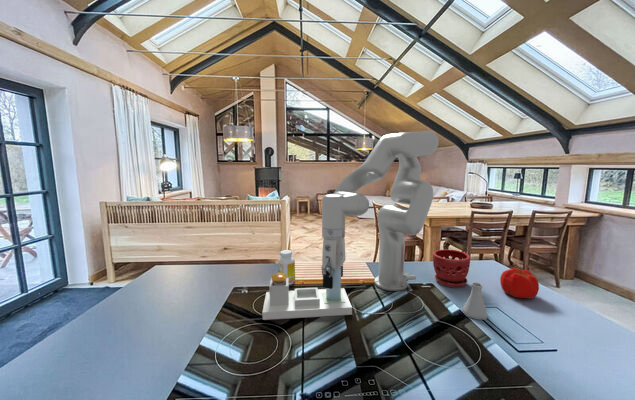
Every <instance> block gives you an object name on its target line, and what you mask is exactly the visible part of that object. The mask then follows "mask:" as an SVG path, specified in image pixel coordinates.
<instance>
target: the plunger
mask: <svg viewBox="0 0 635 400" xmlns="http://www.w3.org/2000/svg"><path fill="white" fill-rule="evenodd" d="M271 279H272V281H273V282H274V285H285V281H286V279H287V277H286V274H285V273H278V272H276V273H273V274H272V275H271Z"/></svg>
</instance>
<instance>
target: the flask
mask: <svg viewBox="0 0 635 400" xmlns="http://www.w3.org/2000/svg"><path fill="white" fill-rule="evenodd" d="M470 286H471V290H470V291H471V292H470V295H469V296H468V298H467V300H466V302H465V304H464V306H463V307H462V309H461V312H462V313H463V314H464V315H465V316H466V317H469V318H471V319H474V320H487V319H488V312H487V311H488V310H487V308H486V305H485V301H484V299H483V294H482V289H483V287H484V284H482V283H480V282H475V281H472V282H471V284H470Z"/></svg>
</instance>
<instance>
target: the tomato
mask: <svg viewBox="0 0 635 400" xmlns="http://www.w3.org/2000/svg"><path fill="white" fill-rule="evenodd" d="M499 279H500V281H499V282H500V287H501V289H502V290H503V292H504V293H505V294H508V295H510V296H512V297H513V298H514V297H515V298H517V299H532V298H535V297H537V295H538V294H539V290H540V284H539V281H538V279H537V277H536V276H535V275H534V274H532V273H531V271H530V270H528V269H524V268H523V269H521V268H520V269H519V268H517V267H516V268H514V267H512V268H510V269H507V270H504V271H503V272H502V273H501V275H500V278H499Z"/></svg>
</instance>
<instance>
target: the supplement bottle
mask: <svg viewBox="0 0 635 400" xmlns="http://www.w3.org/2000/svg"><path fill="white" fill-rule="evenodd" d="M279 254H280V257H279V258H278V260H277V265H278V268H277V269H278V271H277V273H285V274H286V277H287V278H289V286H291V285H293V284H294V283H295V282H294V280H295V281H296V263H295V262H296V261H295V257H293V256H292V255H293V251H292V250H290V249H284V250H280V253H279ZM293 282H294V283H293Z"/></svg>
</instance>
